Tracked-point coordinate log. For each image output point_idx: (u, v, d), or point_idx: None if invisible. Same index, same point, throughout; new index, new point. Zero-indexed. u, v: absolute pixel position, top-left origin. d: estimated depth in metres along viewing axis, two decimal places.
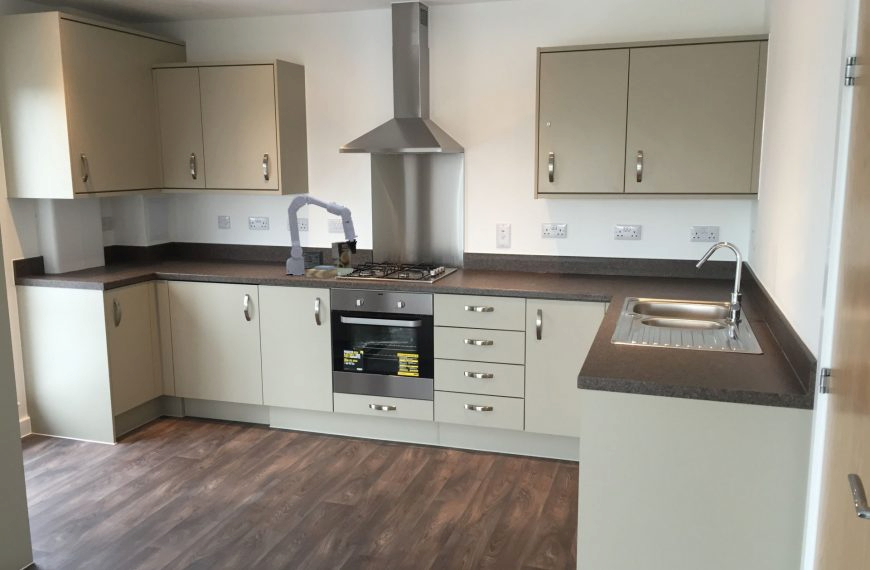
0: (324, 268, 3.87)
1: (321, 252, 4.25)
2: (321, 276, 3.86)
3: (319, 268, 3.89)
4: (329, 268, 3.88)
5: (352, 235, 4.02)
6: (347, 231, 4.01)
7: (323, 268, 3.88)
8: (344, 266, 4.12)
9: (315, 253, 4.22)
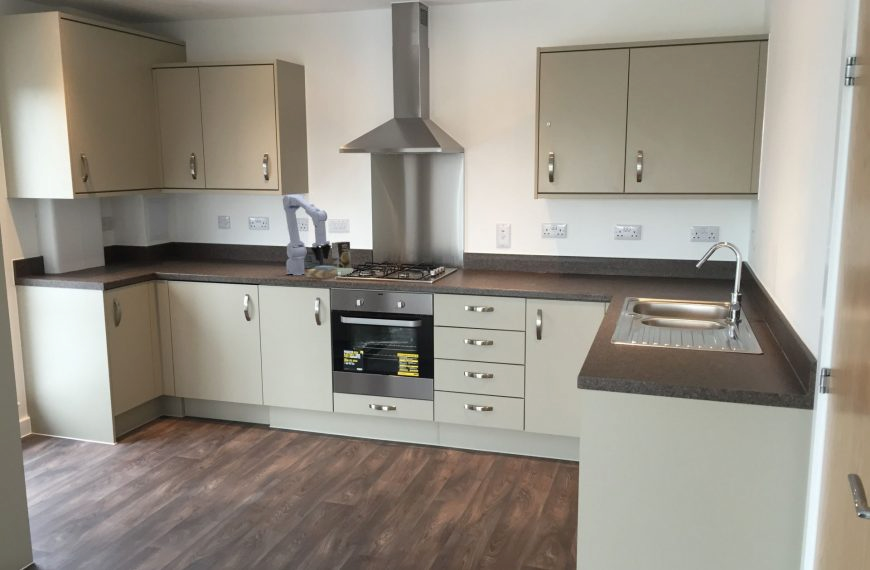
0: (324, 268, 3.87)
1: (321, 252, 4.25)
2: (321, 276, 3.86)
3: (319, 268, 3.89)
4: (329, 268, 3.88)
5: (320, 241, 3.80)
6: (316, 236, 3.81)
7: (323, 268, 3.88)
8: (344, 266, 4.12)
9: None
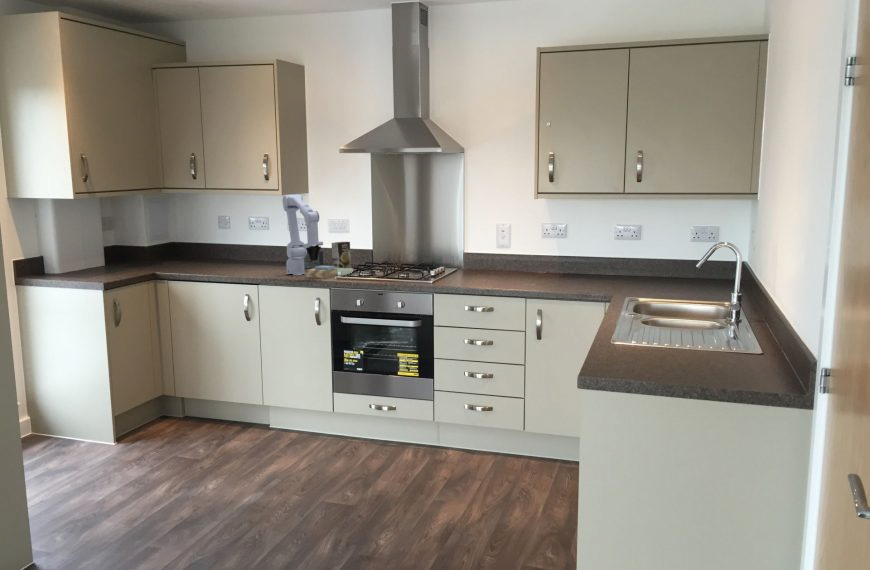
0: (324, 268, 3.87)
1: (321, 252, 4.25)
2: (321, 276, 3.86)
3: (319, 268, 3.89)
4: (329, 268, 3.88)
5: (311, 241, 3.79)
6: (308, 236, 3.79)
7: (323, 268, 3.88)
8: (344, 266, 4.12)
9: None
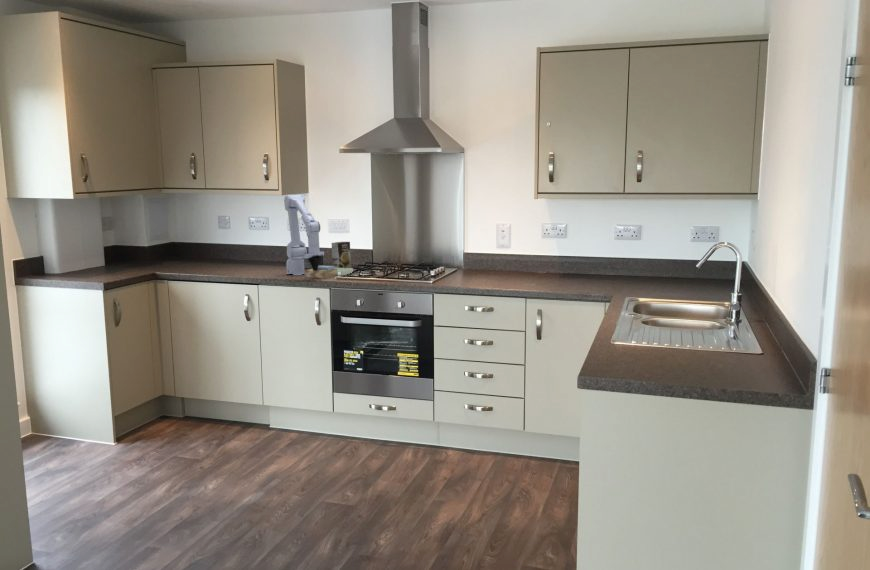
0: (324, 268, 3.87)
1: None
2: (321, 276, 3.86)
3: (319, 268, 3.89)
4: (329, 268, 3.88)
5: (312, 252, 3.80)
6: (309, 246, 3.81)
7: (323, 268, 3.88)
8: (344, 266, 4.12)
9: None
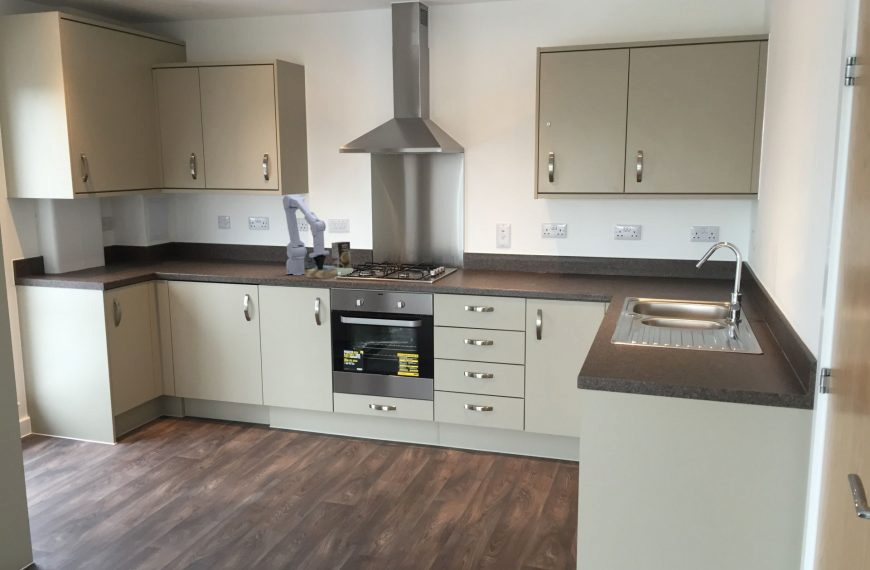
0: (324, 268, 3.88)
1: None
2: (321, 276, 3.86)
3: None
4: (329, 268, 3.88)
5: (317, 251, 3.84)
6: (314, 246, 3.84)
7: (323, 268, 3.88)
8: (344, 266, 4.12)
9: None
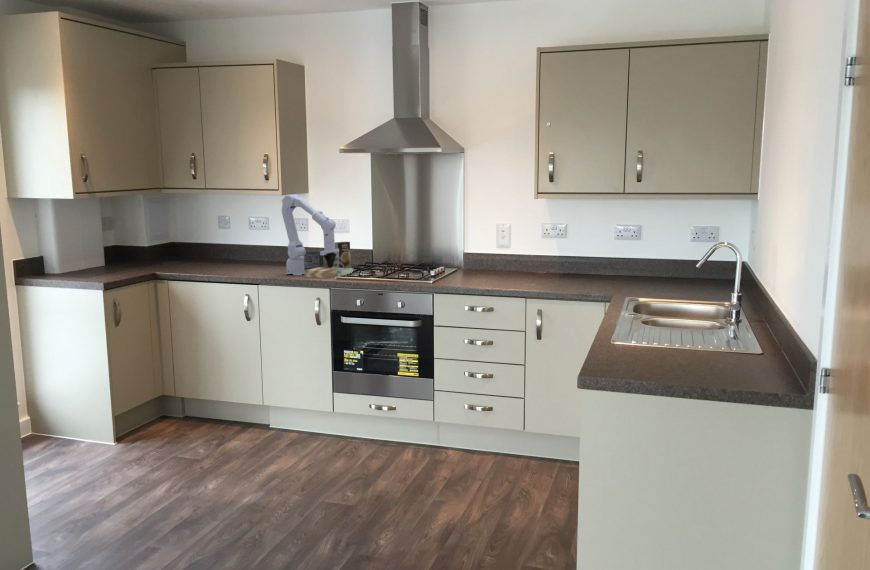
0: None
1: None
2: (321, 276, 3.86)
3: None
4: None
5: (328, 249, 3.92)
6: (324, 244, 3.92)
7: None
8: (344, 266, 4.12)
9: (315, 253, 4.22)
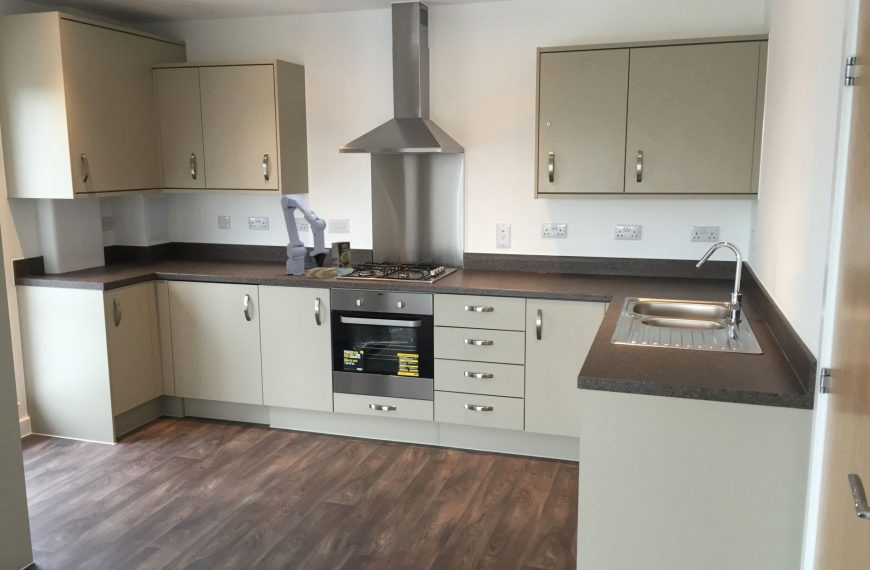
0: None
1: None
2: (321, 276, 3.86)
3: None
4: None
5: (318, 249, 3.85)
6: (314, 244, 3.86)
7: None
8: (344, 266, 4.12)
9: None
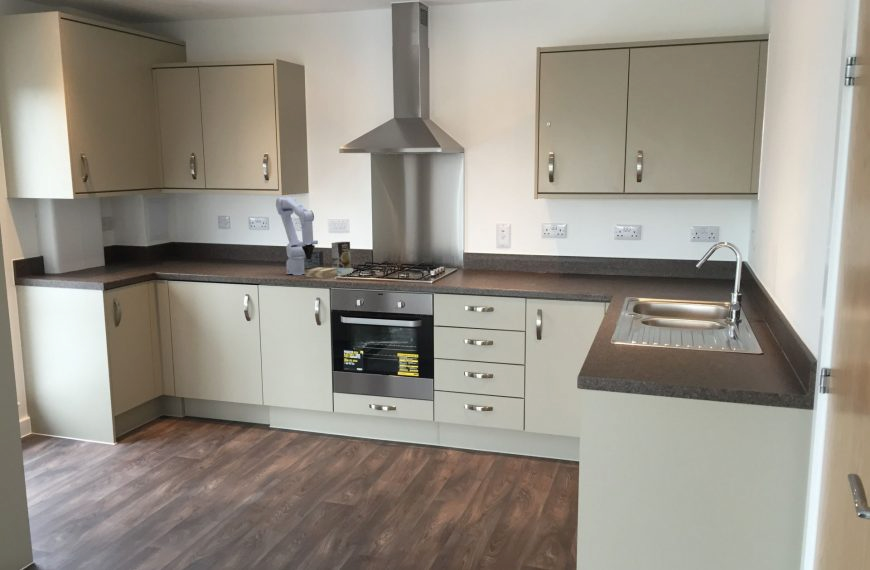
0: None
1: (321, 252, 4.25)
2: (321, 276, 3.86)
3: None
4: None
5: (306, 240, 3.86)
6: (302, 235, 3.87)
7: None
8: (344, 266, 4.12)
9: (315, 253, 4.22)
